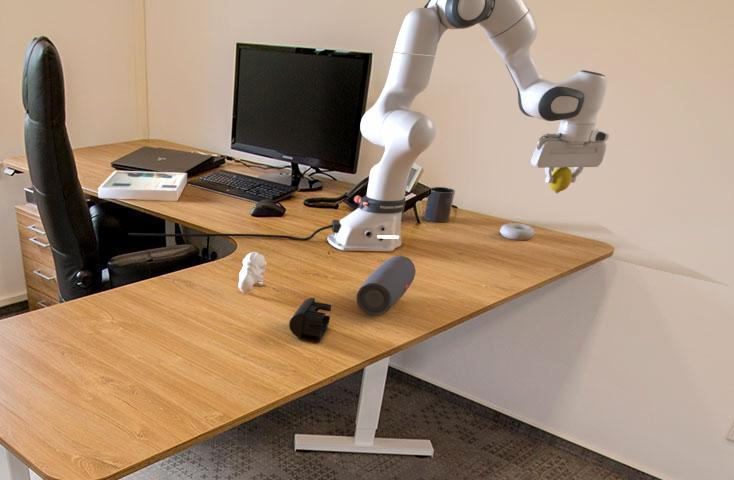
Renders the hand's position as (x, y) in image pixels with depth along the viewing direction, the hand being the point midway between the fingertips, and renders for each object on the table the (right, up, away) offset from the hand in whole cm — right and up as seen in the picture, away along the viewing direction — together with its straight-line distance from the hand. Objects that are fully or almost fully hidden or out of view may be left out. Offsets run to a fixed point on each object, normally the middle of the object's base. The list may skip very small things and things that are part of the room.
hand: (559, 182), depth 204 cm
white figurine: (-96, -35, -22) cm, 104 cm away
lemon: (0, -3, +2) cm, 3 cm away
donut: (-5, -13, +15) cm, 21 cm away
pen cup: (-23, -2, +33) cm, 40 cm away
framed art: (-124, +19, +70) cm, 144 cm away
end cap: (-85, -49, -46) cm, 109 cm away
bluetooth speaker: (-63, -41, -32) cm, 82 cm away
